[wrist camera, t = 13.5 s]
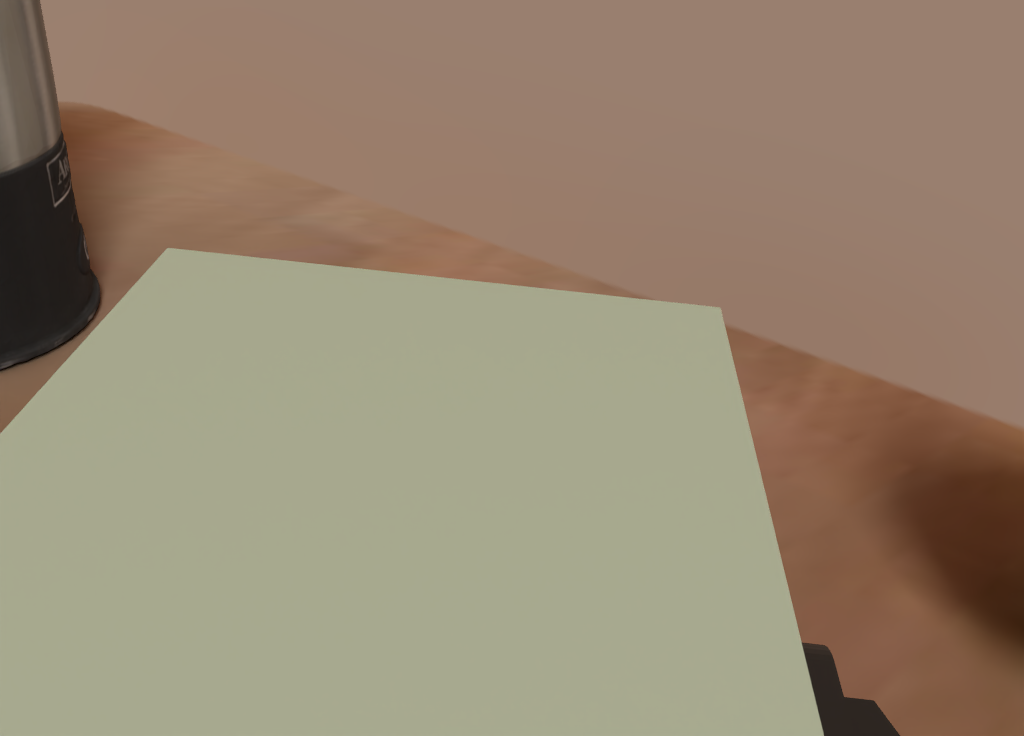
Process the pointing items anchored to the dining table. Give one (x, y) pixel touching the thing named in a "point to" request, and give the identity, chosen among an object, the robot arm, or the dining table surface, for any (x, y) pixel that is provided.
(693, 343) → the sage block
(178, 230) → the dining table surface
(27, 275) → the milk frother
